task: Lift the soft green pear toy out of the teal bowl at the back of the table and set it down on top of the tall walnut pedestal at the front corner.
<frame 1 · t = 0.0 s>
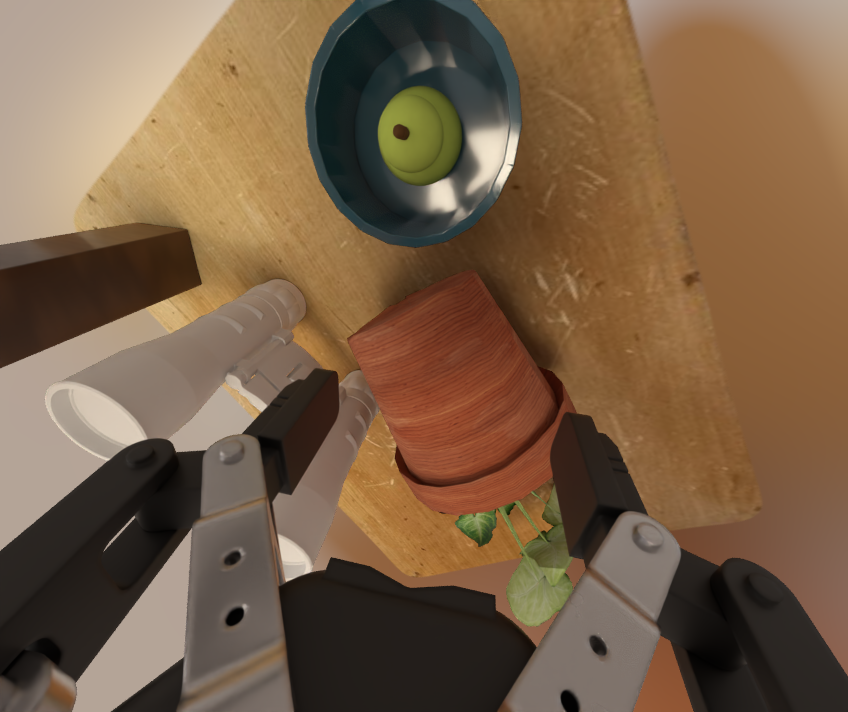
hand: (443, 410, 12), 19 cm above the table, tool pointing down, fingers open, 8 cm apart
binoculars: (326, 346, 34), on the table
teal bowl: (428, 142, 24), on the table
pedestal: (170, 254, 32), on the table
pear: (427, 141, 23), point 1 cm above the table, touching teal bowl
potted plant: (507, 417, 35), on the table
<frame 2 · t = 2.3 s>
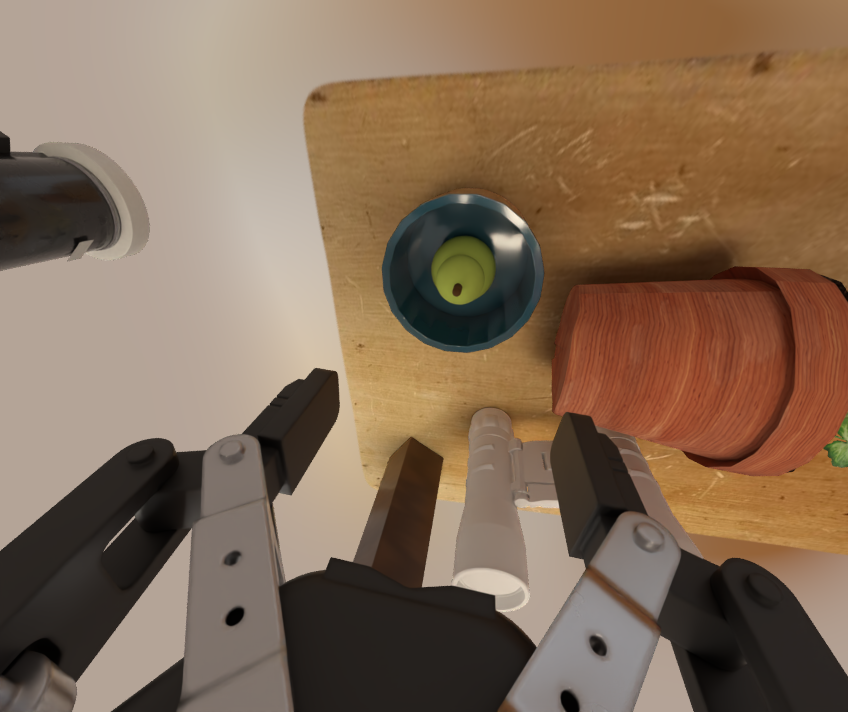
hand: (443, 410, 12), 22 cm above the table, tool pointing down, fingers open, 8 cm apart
binoculars: (544, 423, 38), on the table
teal bowl: (466, 259, 30), on the table
pedestal: (416, 457, 44), on the table
pear: (465, 261, 30), point 1 cm above the table, touching teal bowl
potted plant: (753, 329, 29), on the table
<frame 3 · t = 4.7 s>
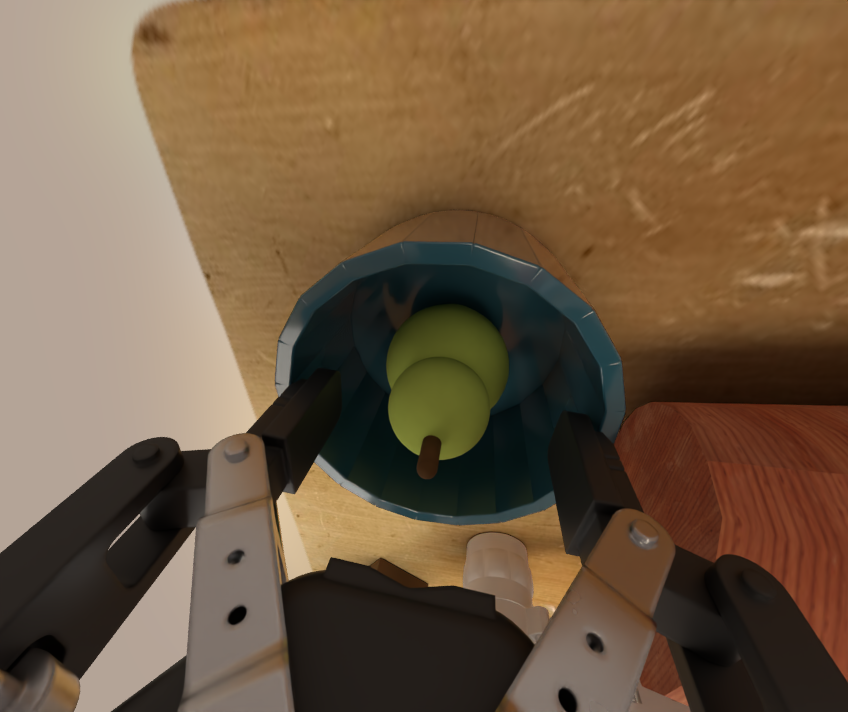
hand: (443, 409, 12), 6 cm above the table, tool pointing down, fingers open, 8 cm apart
binoculars: (576, 554, 25), on the table
teal bowl: (453, 330, 17), on the table
pedestal: (389, 580, 31), on the table
pear: (452, 337, 17), point 1 cm above the table, touching teal bowl
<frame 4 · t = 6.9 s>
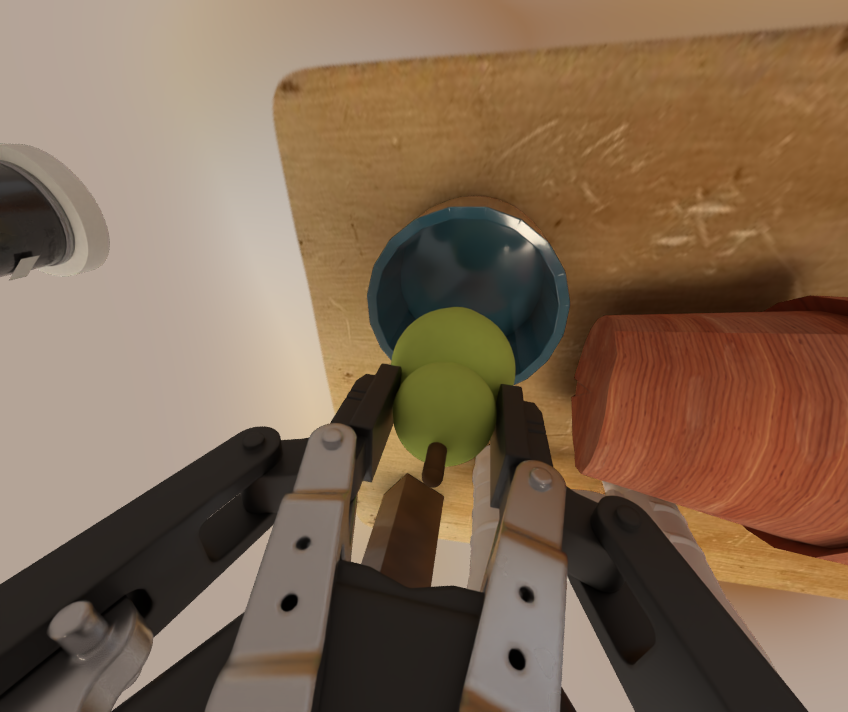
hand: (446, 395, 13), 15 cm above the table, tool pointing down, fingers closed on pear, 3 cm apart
binoculars: (558, 461, 33), on the table
teal bowl: (469, 279, 26), on the table
pedestal: (413, 495, 39), on the table
pear: (457, 340, 17), point 11 cm above the table, touching gripper
potted plant: (813, 362, 24), on the table
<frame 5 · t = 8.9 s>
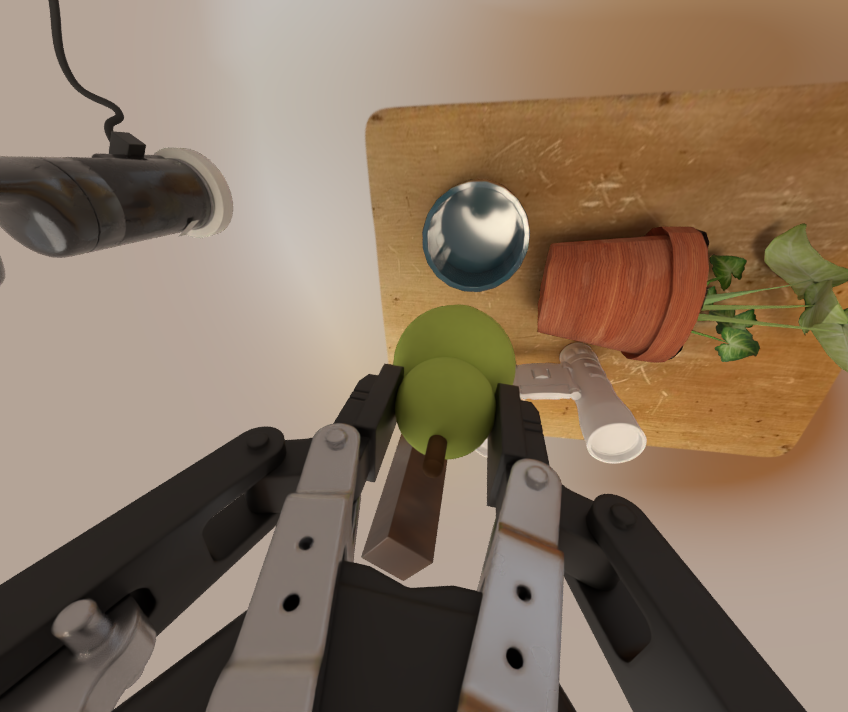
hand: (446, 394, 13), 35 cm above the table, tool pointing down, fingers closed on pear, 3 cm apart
binoculars: (533, 357, 50), on the table
teal bowl: (476, 230, 43), on the table
pedestal: (435, 392, 56), on the table
pear: (459, 338, 17), point 31 cm above the table, touching gripper
potted plant: (677, 277, 42), on the table
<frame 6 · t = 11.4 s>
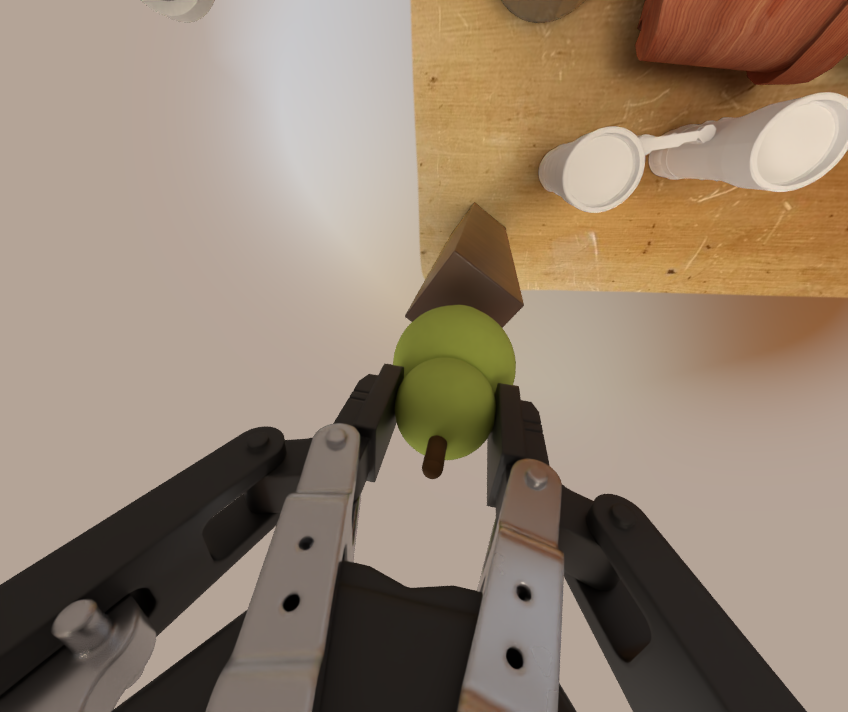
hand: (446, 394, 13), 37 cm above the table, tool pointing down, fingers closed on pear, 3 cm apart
binoculars: (613, 161, 38), on the table
pedestal: (477, 232, 44), on the table
pear: (459, 338, 17), point 32 cm above the table, touching gripper
when the fingers open (33 cm above the table, at t = 12.7 s): pear stays where it is, resting on pedestal.
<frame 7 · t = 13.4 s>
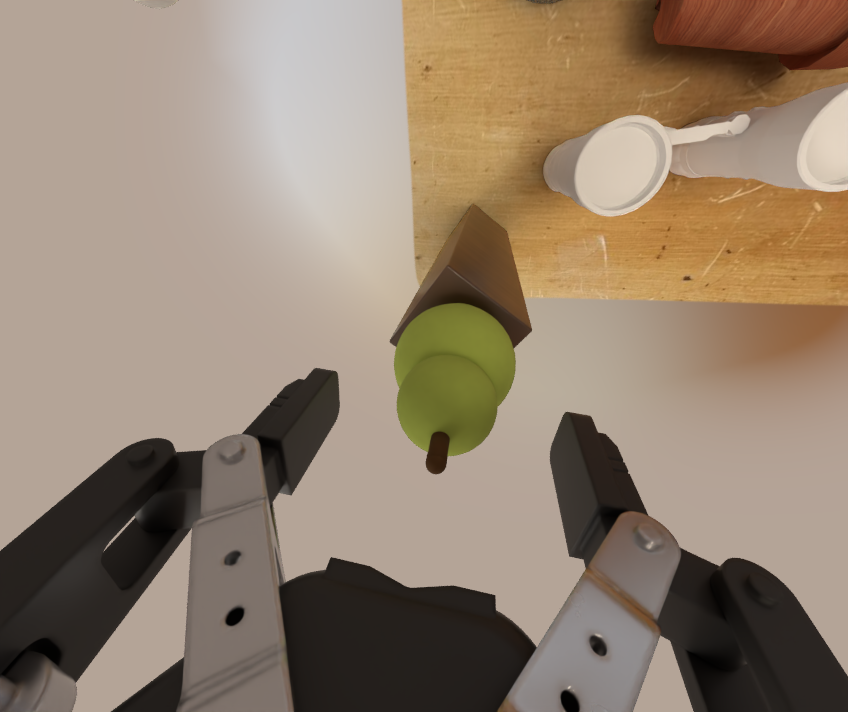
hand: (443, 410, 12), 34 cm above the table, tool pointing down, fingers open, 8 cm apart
binoculars: (625, 158, 35), on the table
pedestal: (476, 235, 41), on the table
pear: (458, 336, 17), point 28 cm above the table, touching pedestal
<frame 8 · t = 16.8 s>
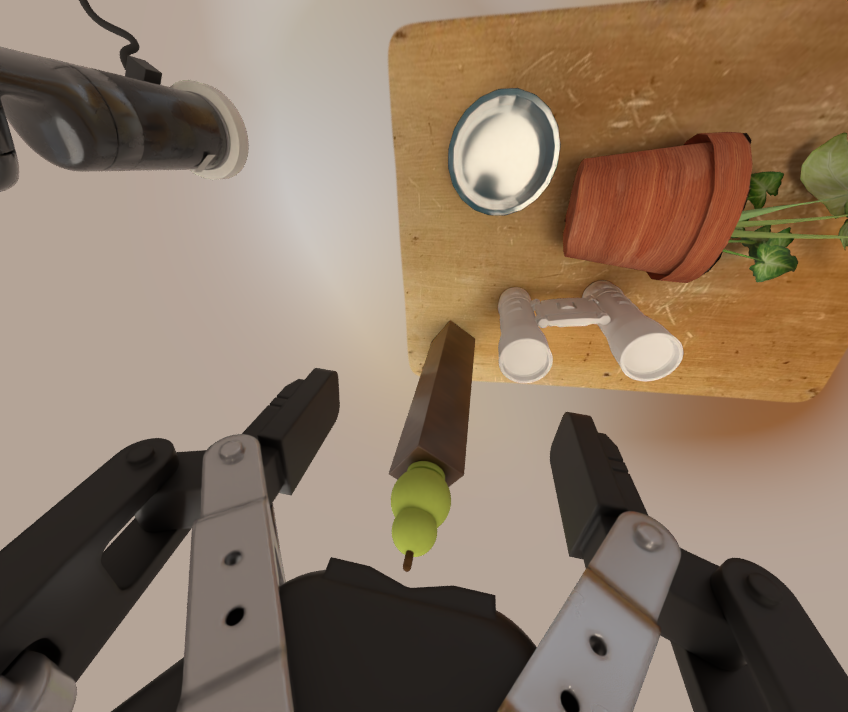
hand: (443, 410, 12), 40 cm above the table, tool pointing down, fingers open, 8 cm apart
binoculars: (555, 298, 49), on the table
teal bowl: (500, 158, 42), on the table
pedestal: (453, 340, 55), on the table
pear: (426, 474, 31), point 28 cm above the table, touching pedestal
potted plant: (707, 204, 41), on the table
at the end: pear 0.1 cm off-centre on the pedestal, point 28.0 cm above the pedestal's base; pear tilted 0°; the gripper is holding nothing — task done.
